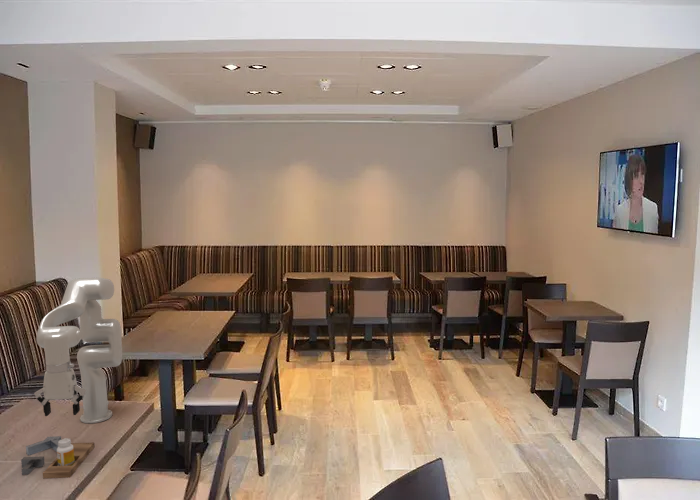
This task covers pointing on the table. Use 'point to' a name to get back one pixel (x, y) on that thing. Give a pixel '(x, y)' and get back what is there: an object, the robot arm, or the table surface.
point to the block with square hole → (66, 471)
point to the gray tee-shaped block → (31, 464)
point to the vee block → (43, 445)
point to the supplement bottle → (65, 453)
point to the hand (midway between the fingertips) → (62, 414)
